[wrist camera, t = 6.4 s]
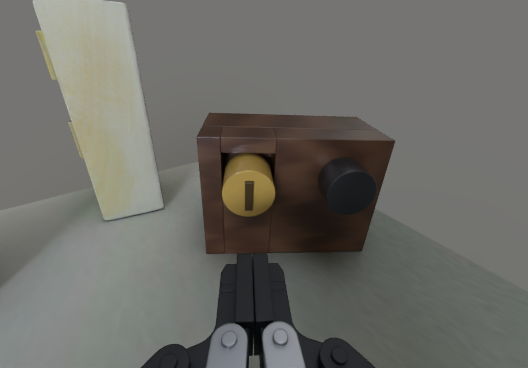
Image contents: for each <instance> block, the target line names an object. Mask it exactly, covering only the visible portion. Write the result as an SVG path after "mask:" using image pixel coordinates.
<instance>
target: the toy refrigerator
mask: <svg viewBox="0 0 528 368" xmlns="http://www.w3.org/2000/svg"><path fill="white" fill-rule="evenodd" d="M32 2H33V5H34V9H35V12H36V14H37V17H38V20H39V23H40V26H41V29H42V31H36V34H37V37H38V40H39V43H40V46H41V49H42V51H43V54H44V57H45V60H46V63H47V66H48V69H49V72H50V76H51V78H52V80H58V82H59V85H60V88H61V91H62V94H63V97H64V100H65V103H66V106H67V109H68V112H69V115H70V118H71V121H69V126H70V129H71V132H72V134H73V137H74V140H75V143H76V146H77V148H78V152H79V154H80V157H81V158H84V160H85V163H86V166H87V169H88V173H89V175H90V179H91V182H92V185H93V188H94V191H95V194H96V197H97V200H98V203H99V207H100V210H101V213H102V216H103V219H104V220H113V219H118V218H123V217H127V216H131V215H136V214H141V213H145V212H150V211H154V210H158V209H162V208H164V202H163V197H162V192H161V186H160V181H159V175H158V170H157V164H156V158H155V153H154V147H153V142H152V136H151V131H150V125H149V120H148V115H147V109H146V103H145V98H144V92H143V87H142V82H141V76H140V71H139V65H138V60H137V54H136V49H135V43H134V38H133V32H132V27H131V21H130V16H129V11H128V7H127V5H126V4H125V3H120V2H112V1H101V0H32Z"/></svg>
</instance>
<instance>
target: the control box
mask: <svg viewBox="0 0 528 368" xmlns="http://www.w3.org/2000/svg"><path fill="white" fill-rule="evenodd" d="M394 143H395V140H393V139H391V138H390V137H388V136H386V135H385V134H383V133H382V132H380V131H378V130H377V129H375V128H373V127H372V126H370V125H369V124H367V123H365V122H364V121H362V120H361V119H359V118H357V117H335V116H301V115H299V116H298V115H266V114H265V115H264V114H231V113H209V114H208V116H207V118H206V120H205V122H204V124H203V126H202V128H201V130H200V132H199V134H198V136H197V146H198V157H199V171H200V182H201V194H202V206H203V218H204V230H205V242H206V253H207V254H215V253H268V252H269V253H273V252H328V251H362V249H363V245H364V242H365V239H366V236H367V232H368V229H369V226H370V222H371V219H372V216H373V213H374V209H375V205H376V202H377V199H378V196H379V192H380V189H381V186H382V183H383V180H384V176H385V173H386V170H387V166H388V163H389V160H390V157H391V153H392V150H393V147H394ZM243 153H253V154H257V155H259V156H261V157H262V158H264V159H265V160H266V161H267V163H268V164H269V166H270V169H271V173H272V178H273V182H274V187H275V199H274V201H273V203H272V205H271V206H270V208H269V209H267V210H266V211H265V212H263V213H262V214H259V215H256V216H249V217H247V216H240V215H237V214H235V213H233V212H232V211H230V210H229V209H228V208H227V207H226V205H225V204H224V202H223V199H222V187H223V181H224V174H225V168H226V166H227V164H228V162H229V161H230V160H231V159H232V158H234V157H235V156H237V155H239V154H243Z"/></svg>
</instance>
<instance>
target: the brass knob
mask: <svg viewBox="0 0 528 368" xmlns="http://www.w3.org/2000/svg"><path fill="white" fill-rule="evenodd" d="M222 199H223V202H224V204H225V205H226V207H227V208H228V209H229V210H230V211H232V212H233V213H235V214H237V215H240V216H247V217H249V216H256V215H259V214H262V213H263V212H265V211H266V210H267V209H269V208H270V206H271V205H272V203H273V201H274V199H275V187H274V182H273V178H272V173H271V169H270V166H269V164H268V163H267V161H266V160H265V159H264V158H262V157H261V156H259V155H257V154H253V153H243V154H239V155H237V156H235V157H234V158H232V159H231V160H230V161H229V162H228V164H227V166H226V168H225V174H224V181H223V187H222Z"/></svg>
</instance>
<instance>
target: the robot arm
mask: <svg viewBox="0 0 528 368" xmlns="http://www.w3.org/2000/svg"><path fill="white" fill-rule="evenodd" d="M253 335H254V355H259V358H260V368H375V367H374V366H373V365H372V364H371V363H370V362H369V361H368V360H366V359H365V358H364V357H363V356H362V355H361V354H360V353H359V352H357V351H356V350H355V349H354V348H353V347H352V346H351V345H349V344H348V343H347V342H346V341H344V340H342V339H339V338H329V339H327V340H325V341H324V342H323V343H322V342H319V341H315V340H312V339H309V338H306V337H305V336H303V335H302V334H300V333H299V332H298V331H297V330H296V328H295V327H294V325H293V323H292V318H291V313H290V307H289V301H288V296H287V291H286V284H285V278H284V273H283V270H282V269H281V267H280V266H279V264H278V263H268V256H267V253H253V255H252V253H237V264H226V266H225V267H224V269H223V271H222V272H221V279H220V289H219V299H218V309H217V319H216V326H215V329H214V331H213V332H212V334H211V335H210V336H209V337H208V338H207V339H206V340H205V341H203V342H202V343H199V344H197V345H194V346H192V347H189V348H187V349H185V347H183V346H181V345H179V344H170V345H167V346H165V347H163V348H161V349H160V350H158V351H157V352H156V353H155V354H154V355H153V356H152V357H151V358H150V359H149V360H148V361H147V362H146V363H145V364H144V365H143V366H142V367H141V368H249V356H253Z"/></svg>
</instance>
